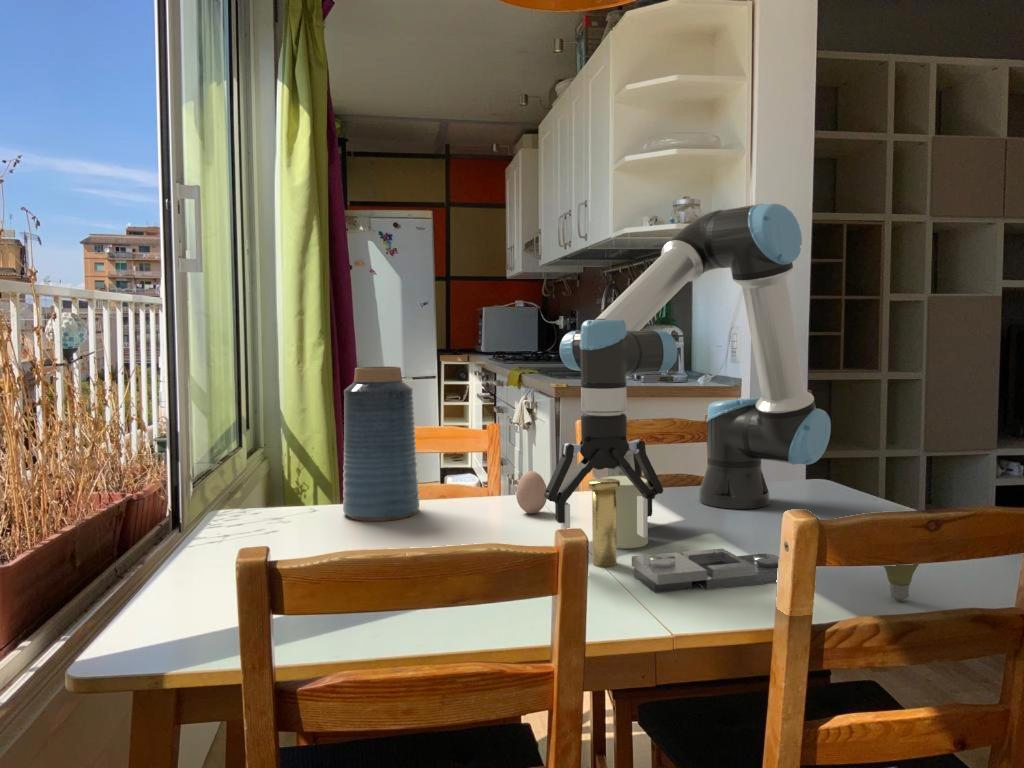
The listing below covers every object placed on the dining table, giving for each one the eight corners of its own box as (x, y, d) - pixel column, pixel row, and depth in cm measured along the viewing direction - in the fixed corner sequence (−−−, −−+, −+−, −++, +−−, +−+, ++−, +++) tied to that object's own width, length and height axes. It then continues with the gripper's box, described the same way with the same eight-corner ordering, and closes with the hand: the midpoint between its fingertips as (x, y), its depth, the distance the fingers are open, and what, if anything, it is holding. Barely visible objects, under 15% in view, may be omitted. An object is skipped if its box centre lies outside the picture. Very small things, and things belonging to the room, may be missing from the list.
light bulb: (870, 594, 119) (871, 527, 119) (906, 593, 120) (908, 526, 119) (890, 608, 114) (892, 537, 113) (929, 606, 114) (930, 536, 114)
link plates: (765, 562, 136) (766, 538, 136) (800, 580, 127) (801, 554, 126) (631, 574, 131) (631, 550, 130) (657, 594, 121) (657, 568, 121)
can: (588, 539, 153) (588, 475, 152) (631, 533, 156) (630, 471, 156) (613, 551, 144) (613, 484, 144) (657, 545, 148) (657, 479, 147)
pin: (613, 558, 140) (613, 477, 139) (624, 566, 135) (624, 483, 134) (584, 560, 139) (584, 479, 138) (595, 569, 134) (594, 485, 133)
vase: (327, 518, 172) (323, 369, 170) (369, 502, 187) (365, 365, 185) (395, 524, 166) (391, 370, 164) (432, 507, 181) (429, 365, 179)
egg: (531, 518, 170) (530, 475, 169) (510, 513, 174) (509, 471, 174) (553, 513, 174) (553, 471, 173) (532, 508, 179) (532, 467, 178)
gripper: (663, 407, 142) (663, 527, 143) (525, 413, 136) (526, 538, 137) (683, 412, 134) (682, 538, 136) (537, 418, 128) (539, 550, 130)
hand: (604, 538), depth 137 cm, fingers open, 13 cm apart
